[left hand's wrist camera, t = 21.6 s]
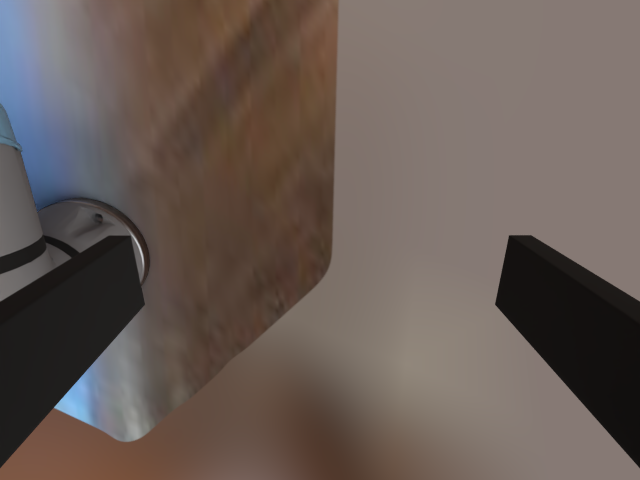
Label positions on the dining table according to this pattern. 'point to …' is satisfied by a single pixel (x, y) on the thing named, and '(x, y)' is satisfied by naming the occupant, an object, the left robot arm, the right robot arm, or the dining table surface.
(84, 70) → the dining table surface
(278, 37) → the dining table surface
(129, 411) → the dining table surface
